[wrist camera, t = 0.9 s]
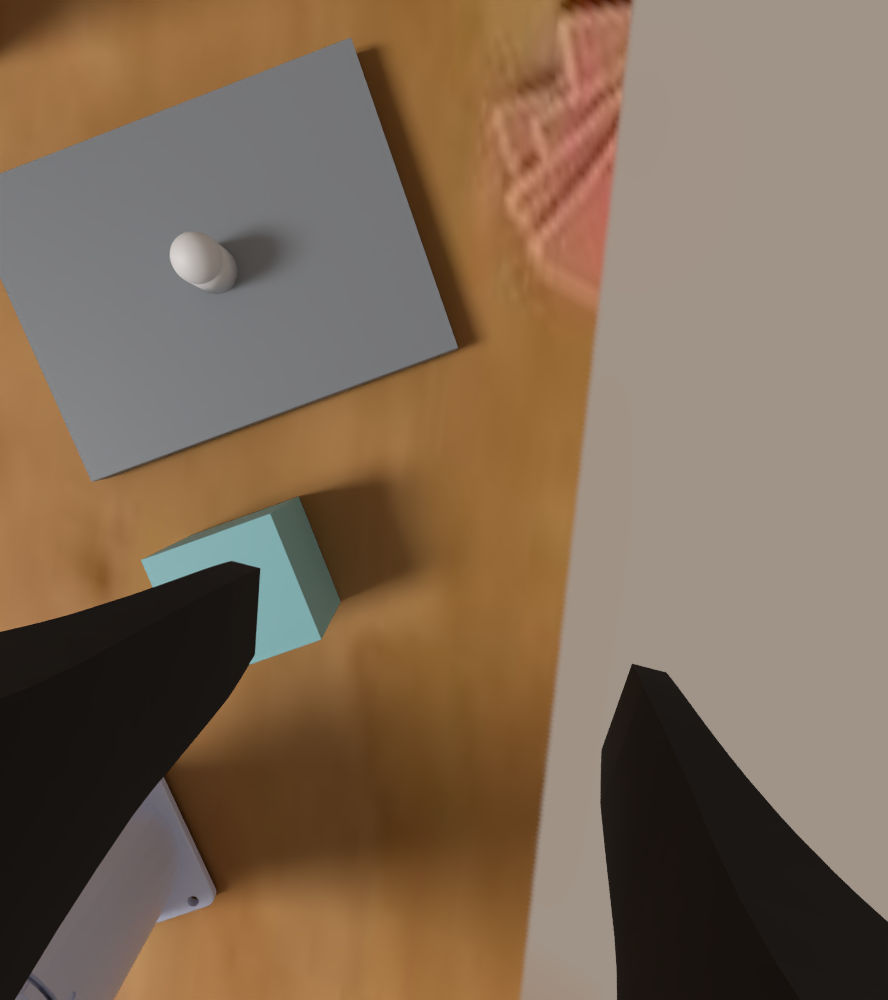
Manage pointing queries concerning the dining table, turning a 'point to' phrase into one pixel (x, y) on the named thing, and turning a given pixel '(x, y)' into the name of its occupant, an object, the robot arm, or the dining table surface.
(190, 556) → the teal cube
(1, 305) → the dining table surface
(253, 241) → the pin board
